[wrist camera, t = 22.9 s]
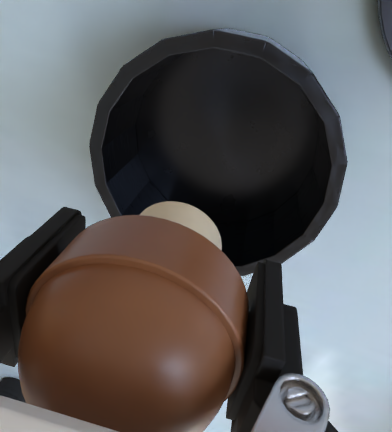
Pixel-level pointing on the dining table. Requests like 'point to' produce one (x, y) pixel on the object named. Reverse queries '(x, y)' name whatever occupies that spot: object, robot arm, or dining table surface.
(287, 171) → the pan
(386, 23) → the pan lid
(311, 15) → the dining table surface
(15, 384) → the drinking cup
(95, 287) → the mushroom
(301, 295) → the dining table surface
